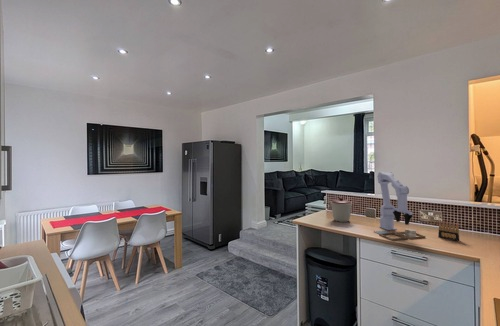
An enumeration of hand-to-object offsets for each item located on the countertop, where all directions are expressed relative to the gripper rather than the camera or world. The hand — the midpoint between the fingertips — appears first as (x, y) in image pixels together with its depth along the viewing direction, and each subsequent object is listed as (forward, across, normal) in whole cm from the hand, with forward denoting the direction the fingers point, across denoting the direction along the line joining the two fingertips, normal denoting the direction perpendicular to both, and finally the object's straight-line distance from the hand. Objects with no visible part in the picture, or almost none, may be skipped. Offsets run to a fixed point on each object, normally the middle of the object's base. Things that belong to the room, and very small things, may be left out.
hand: (402, 223), depth 164 cm
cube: (+10, 0, +6) cm, 11 cm away
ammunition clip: (+10, +11, +26) cm, 29 cm away
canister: (+10, -50, -16) cm, 53 cm away
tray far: (+9, 0, +6) cm, 11 cm away
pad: (+9, -10, -7) cm, 16 cm away
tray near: (+9, 0, -8) cm, 12 cm away
